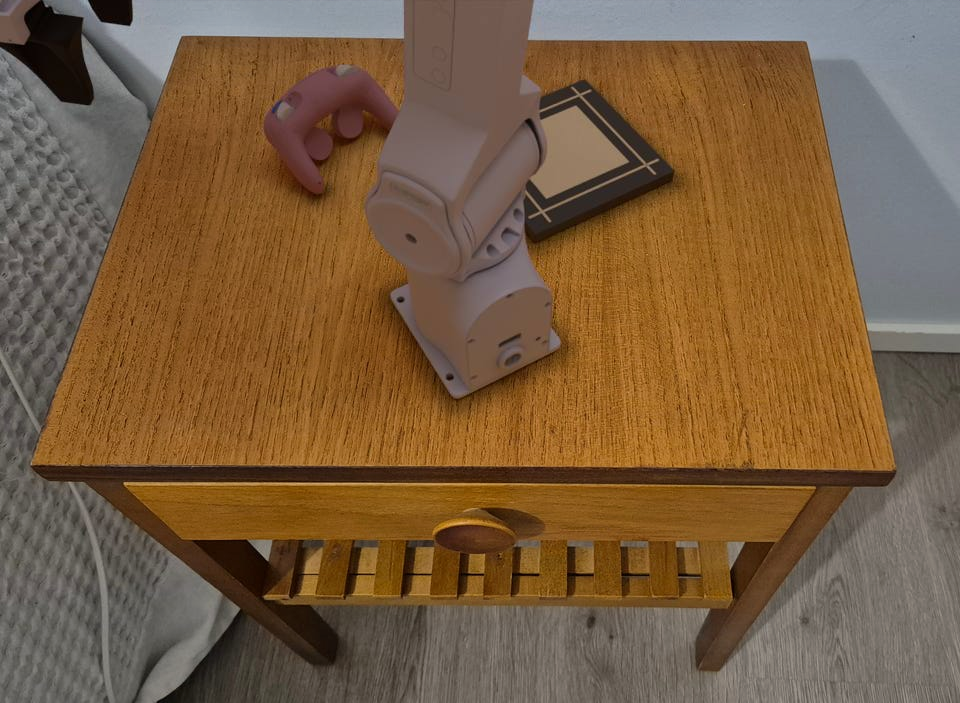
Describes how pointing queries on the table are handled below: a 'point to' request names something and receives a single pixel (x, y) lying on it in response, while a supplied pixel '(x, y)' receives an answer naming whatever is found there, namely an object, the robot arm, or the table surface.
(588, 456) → the table surface
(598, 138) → the board
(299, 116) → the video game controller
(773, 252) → the table surface
